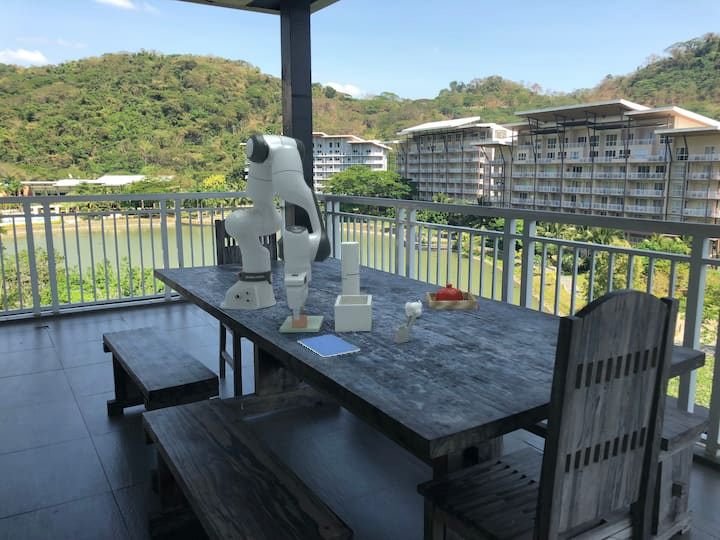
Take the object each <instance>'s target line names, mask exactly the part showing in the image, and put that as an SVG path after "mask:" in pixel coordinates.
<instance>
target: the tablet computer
mask: <svg viewBox="0 0 720 540" xmlns="http://www.w3.org/2000/svg"><path fill="white" fill-rule="evenodd" d="M297 343H298V344H299V343H300V345H301V344H302V345H301V346H303V347H304V346H305V348H306V347H307V348H306V349H308V348H309V349H310V350H309V349H308V350H309V351H311V350H312V351H313V352H312V351H311V352H312V353H314V352H315V353H314V354H316V353H317V354H319V355H320V356H322V357H330V358H332V357H331V356H336V357H338V356H337V355H341V356H343V355H342V354H346V355H348V354H347V353H351V354H354V353H353V352H356V353H359V352H358V351H360V352H361V348H359V347H357V346H355V345H353V344H352V343H349V342H348V341H346V340H343V339H341V338H339V337H338V336H335V335H334V334H332V333H331V334H325V335H324V334H323V335H319V336H315V337H314V336H313V337H308V338H303V339H302V338H301V339H299V340H297ZM317 354H316V355H317ZM319 355H318V356H319ZM320 356H319V357H320ZM322 357H321V358H322Z"/></svg>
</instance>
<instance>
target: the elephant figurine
mask: <svg viewBox="0 0 720 540" xmlns="http://www.w3.org/2000/svg"><path fill="white" fill-rule="evenodd" d="M404 308H405V313H406V316H407V317H408V318H409V315H413V316H415V317H416V318H417V317H419V316H421V314H423V312H422V309H423V303H422V302H421V301H420V300H418V301H415V302H410V301H409V302H408V301H407V302H406V303H405V305H404Z"/></svg>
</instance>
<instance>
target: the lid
mask: <svg viewBox="0 0 720 540" xmlns="http://www.w3.org/2000/svg"><path fill="white" fill-rule="evenodd" d="M324 319H325V315H307V314H300V320H294V314H292V315H288V316H287V317H286V319H285V320H284V322H283V323H282V325H281V326H280V328H279V333H319V332H320V330H321V327H322V325H323V323H324Z"/></svg>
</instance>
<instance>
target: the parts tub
mask: <svg viewBox="0 0 720 540" xmlns="http://www.w3.org/2000/svg"><path fill="white" fill-rule="evenodd" d="M372 297H373V296H372V294H360V295H342V294H341V295H340V294H339V295H337V298H336V300H335V303H334V305H333V306H334V331H335V333H347V332H348V333H350V331H352V332H353V333H359V331H371V332H372V325H373V298H372ZM356 331H357V332H356ZM352 332H351V333H352Z"/></svg>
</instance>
